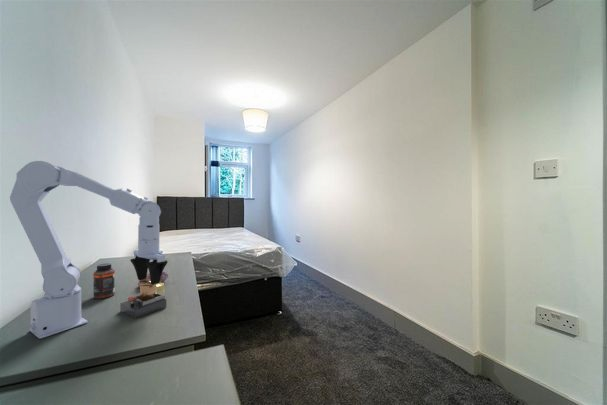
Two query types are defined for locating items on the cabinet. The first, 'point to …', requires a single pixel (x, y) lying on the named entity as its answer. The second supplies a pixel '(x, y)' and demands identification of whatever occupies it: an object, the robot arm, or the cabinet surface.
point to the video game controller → (162, 279)
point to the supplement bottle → (104, 281)
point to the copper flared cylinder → (147, 290)
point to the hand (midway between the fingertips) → (148, 281)
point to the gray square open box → (142, 305)
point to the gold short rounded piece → (160, 288)
